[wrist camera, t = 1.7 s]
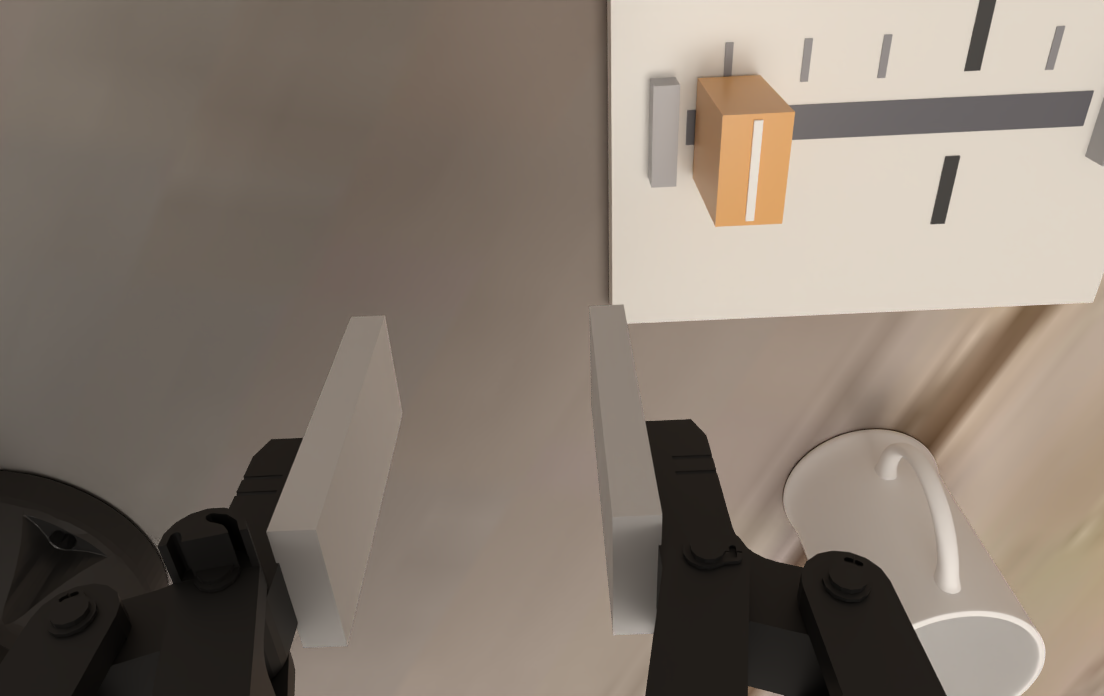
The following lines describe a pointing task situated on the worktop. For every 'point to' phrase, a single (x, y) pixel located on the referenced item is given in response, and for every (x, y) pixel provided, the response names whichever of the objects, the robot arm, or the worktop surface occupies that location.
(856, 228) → the console
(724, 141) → the fader
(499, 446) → the worktop surface
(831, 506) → the mug
